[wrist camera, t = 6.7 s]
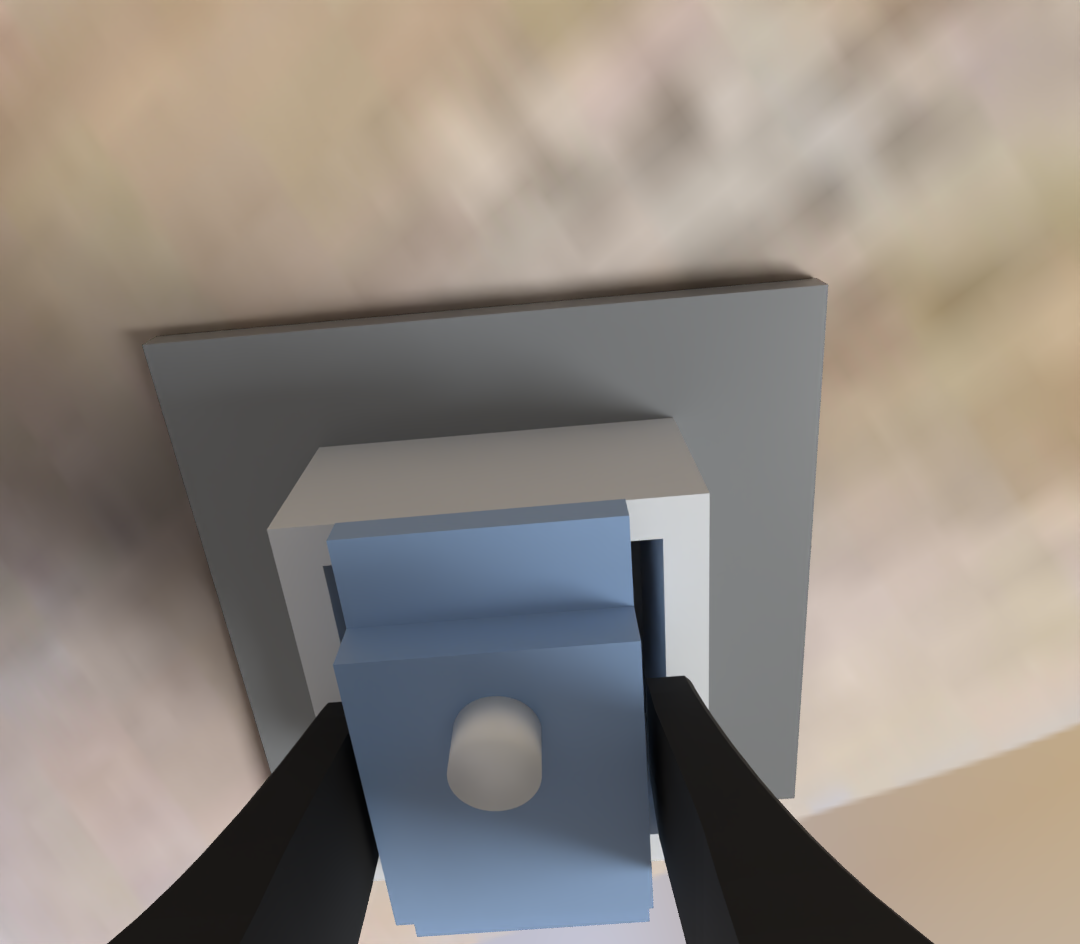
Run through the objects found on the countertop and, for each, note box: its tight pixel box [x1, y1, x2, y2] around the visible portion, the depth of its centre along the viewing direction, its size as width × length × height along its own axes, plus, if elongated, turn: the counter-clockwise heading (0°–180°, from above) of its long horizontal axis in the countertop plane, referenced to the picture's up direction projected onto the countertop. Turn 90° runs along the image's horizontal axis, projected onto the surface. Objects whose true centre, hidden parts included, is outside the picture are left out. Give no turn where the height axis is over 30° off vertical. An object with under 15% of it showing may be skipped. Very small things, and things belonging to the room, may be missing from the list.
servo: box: [326, 499, 653, 937], centre depth 13 cm, size 4×8×5 cm, turn 5°
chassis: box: [142, 278, 828, 881], centre depth 15 cm, size 12×12×4 cm
